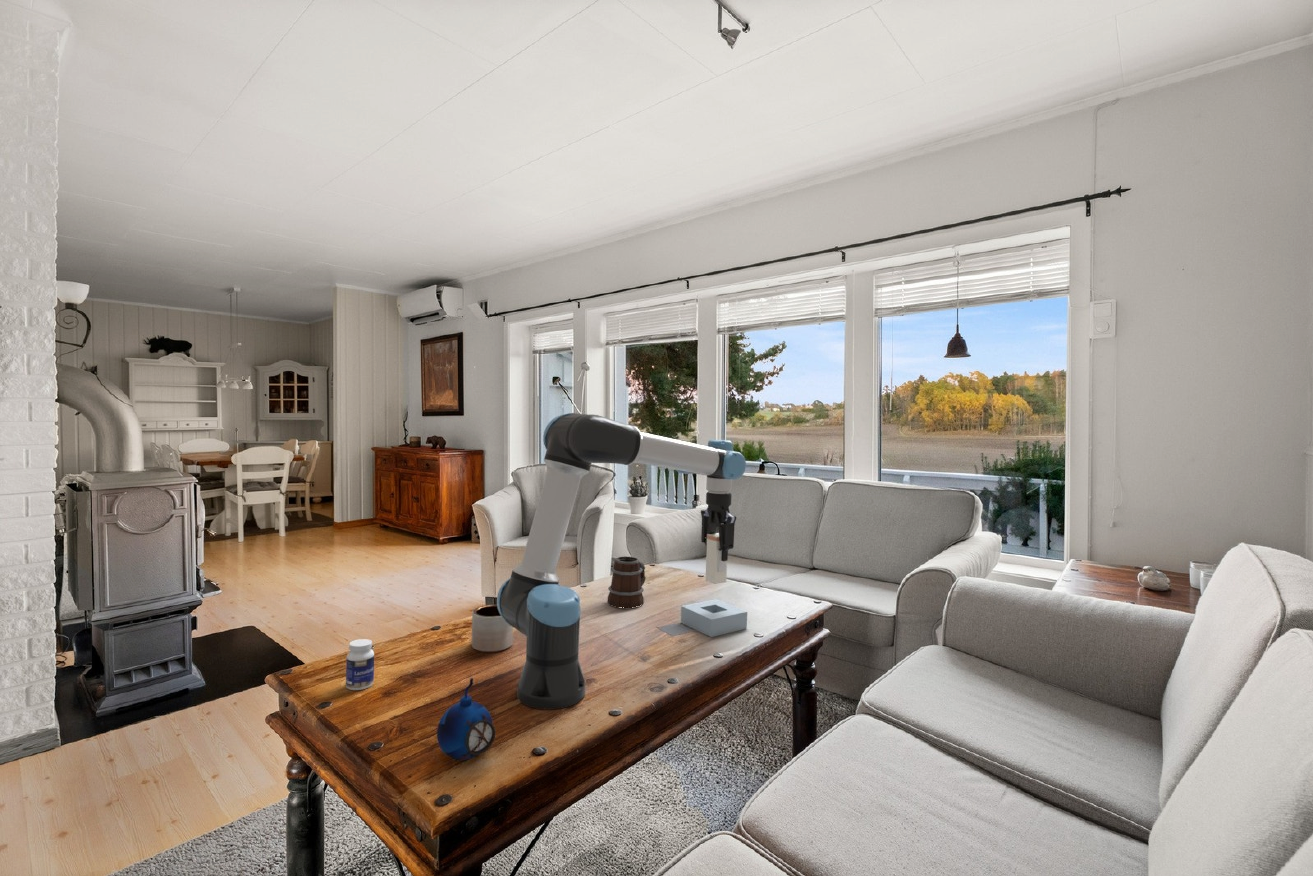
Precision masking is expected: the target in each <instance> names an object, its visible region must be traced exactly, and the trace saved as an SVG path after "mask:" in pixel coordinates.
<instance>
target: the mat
mask: <svg viewBox="0 0 1313 876" xmlns="http://www.w3.org/2000/svg"><path fill="white" fill-rule="evenodd" d="M656 629H659V630H661V631H662V632H664V633H666V634H667V635H670V636H672V637H674V636H675V637H676V636H680V635H684V634H688V633H692V632H695V629H693V628H691V627H690V628H689V626H687V625H685V624H684V625H683V623H682V624H681V622H680V623H679V622H676V623H670V624H666V625H662V626H656Z"/></svg>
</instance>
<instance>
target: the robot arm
mask: <svg viewBox="0 0 1313 876" xmlns="http://www.w3.org/2000/svg"><path fill="white" fill-rule="evenodd" d="M542 437H543V439H542V441H543V445H544V448H545V450H546V451H545V455H544V458H543V462H544V464H545V465H546V467H547V469H546V470H547V471H546V475H545V478H544V482H543V485H542V488H541V492H540V494H539V495H540V496H539V499H538V503H537V505H536V509H535V513H534V517H533V519H532V523H531V526H530V531H529V534H528V537H527V542H526V546H525V548H524V551H523V554H522V555H523V556H522V559H521V562H520V564H518V565H517V566H514V567H513V568H512V570H511V574H510V577H509V578H508V579H507V580H506V581H504V582H503V583H502V584H501V586H500V588H499V590H498V592H497V595H496V605H497V607H498V611H499V613H500V615H501V616H502V617H503V618H504V620H505V621H506V622H507V623H508V624H509V625H510V626H512V627H513V629H515V630H517V631H518V632H519V633H520V634H522V635H524V637H526V649H525V650H526V653H525V655H526V656H525V663H524V665H523V669H522V671H521V674H520V677H519V680H518V683H517V687H516V688H517V689H516V690H517V691H516V697H517V700H518V701H519V702H520V703H521V704H523V706H524V705H525V706H527V707H530V708H533V709H538V710H539V709H540V710H557V709H558V710H559V709H564V708H567V707H571V706H573V705H575V704H577V703H579V702H580V701H582V700H583V698H584V697H585V696H586V681H585V678H584V674H583V670H582V667H581V663H580V661H579V654H580V653H579V649H580V648H579V647H580V645H579V644H580V620H581V619H580V618H581V613H582V611H581V603H580V602H581V601H580V599H581V598H580V596H579V594H578V593H577V592H576V591H575V590H574V589H572V588H571V587H568V586H567V585H566V586H565V585H560V578H559V577H558V574H557V573H556V570H557V567H558V564H559V560H560V556H561V551H562V548H563V544H564V542H565V538H566V533H567V532H568V527H569V523H570V519H571V516H572V512H573V509H574V505H575V502H576V498H577V496H578V491H579V487H580V484H581V480H582V478H583V477H584V476H586V475H587V474H589V473H590V470H591V468H592V467H591V466H592V464H616V465H624V466H630V465H632V464H633V463H636V464H637V463H638V464H642V465H643V464H644V465H647V466H648V465H649V466H654V467H659V468H664V469H665V468H666V469H670V470H675V471H676V472H677V473H678V474H685V475H689V474H694V475H696V474H697V475H700V476H701V475H702V476H706V487H705V488H706V491H707V492H706V495H705V504H706V505H708V506H707V509H701V510H700V515H701V535H700V536H701V537H700V538H701V543H704V544H705V545H704V546H705V553H706V552H707V534H714V533H717V532H718V533H719V540H720V549H719V550H718V572H724V571H726V561H727V562H728V557H729V550H732V549H734V546H735V545H734V544H735V525H736V522H737V521H736V520H737V517H736V515H732V514H731V512H730V508H729V507H730V506H731V505H732V493H731V492H732V490H733V486H732V485H733V484H732V483H733V480H738V479H740V478H742V476H743V475H744V474H745V472H746V466H747V462H746V461H747V460H746V458H745V457H744V455H743V454H742V453H741V452H739V451H734V443H733V442H732V441H731V440H728V439H710V440H708V441H707V446H706V445H702V444H699V443H694V442H690V441H684V440H680V439H675V438H672V437H666V436H662V435H658V434H657V435H656V434H652V433H648V432H643V431H640V429H638V427H637V426H634V425H631V424H627V423H623V422H620V421H617V420H614V419H611V418H608V417H606V416H602V415H598V414H586V413H575V412H568V413H564V414H563V413H562V414H560V415H557V416H555V417H553V418H552V419H551V420H550V421H549V422H548V423H547V425H546V426H545V429H544V432H543V436H542ZM717 530H718V531H717ZM724 545H725V546H724Z"/></svg>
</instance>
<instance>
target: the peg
mask: <svg viewBox="0 0 1313 876" xmlns="http://www.w3.org/2000/svg"><path fill="white" fill-rule="evenodd" d="M724 546H725V545H724ZM719 549H720V540H719V532H716V533H714V534H707V552H706V551H705V557H706V559H705V581H706V582H708V583H711V584H714V585H718V584H723V583H727V576H728V575H727V571H728V569H727V568H728V560H727V561H726V571H724V572H718V550H719Z"/></svg>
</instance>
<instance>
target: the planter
mask: <svg viewBox="0 0 1313 876" xmlns="http://www.w3.org/2000/svg"><path fill="white" fill-rule="evenodd" d="M471 613H472V614H471V615H472V617H471V642H470V643H471V647H472V649H474V650H476V651H477V652H480V653H497V652H502V651H505V650H507V649H509V648H511V646H512V645H513V643H514V627H512V626H510V625H509V624H508V623H507V622H506V621H505V620H504V618H503V617H502V616H501V615H500V613H499V611H498V607H497V604H485V605H482V606H478V607H476V608H474V609H473V610H472V612H471Z"/></svg>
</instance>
